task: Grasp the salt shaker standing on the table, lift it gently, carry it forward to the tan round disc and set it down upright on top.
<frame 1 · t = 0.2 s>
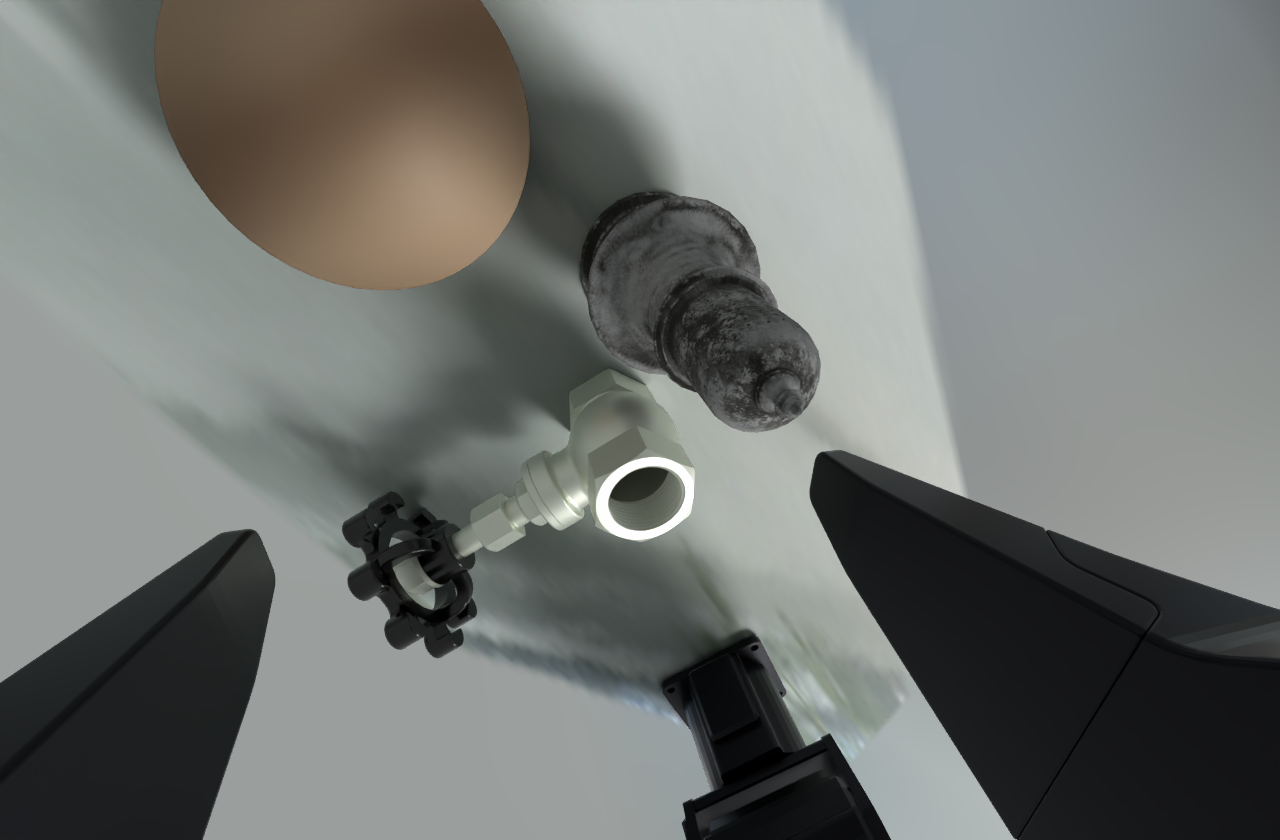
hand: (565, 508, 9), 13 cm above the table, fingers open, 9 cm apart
tan round disc: (374, 121, 17), on the table
valve: (529, 451, 25), on the table
salt shaker: (648, 264, 22), on the table
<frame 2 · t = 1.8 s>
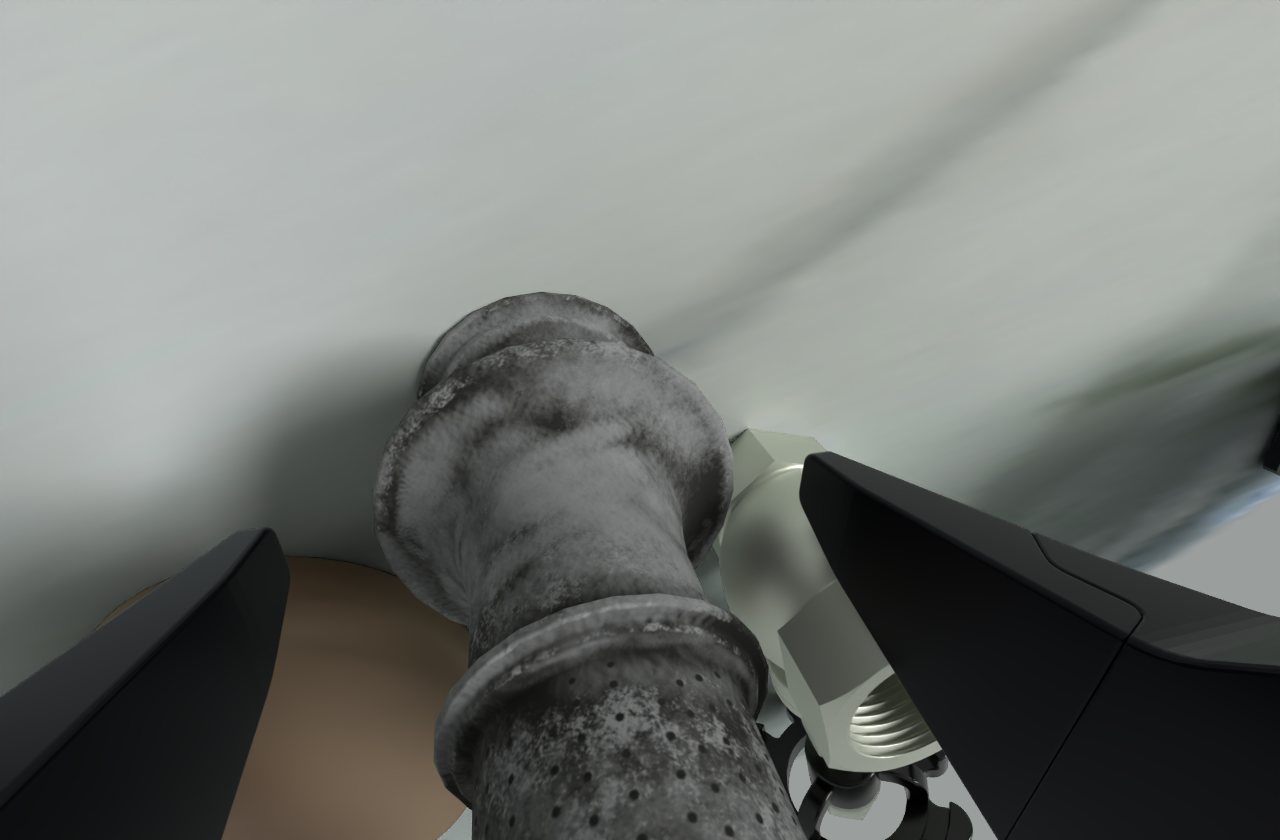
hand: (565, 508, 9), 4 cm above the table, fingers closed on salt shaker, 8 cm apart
tan round disc: (298, 693, 14), on the table
valve: (771, 578, 17), on the table, touching gripper
salt shaker: (545, 407, 13), on the table, touching gripper
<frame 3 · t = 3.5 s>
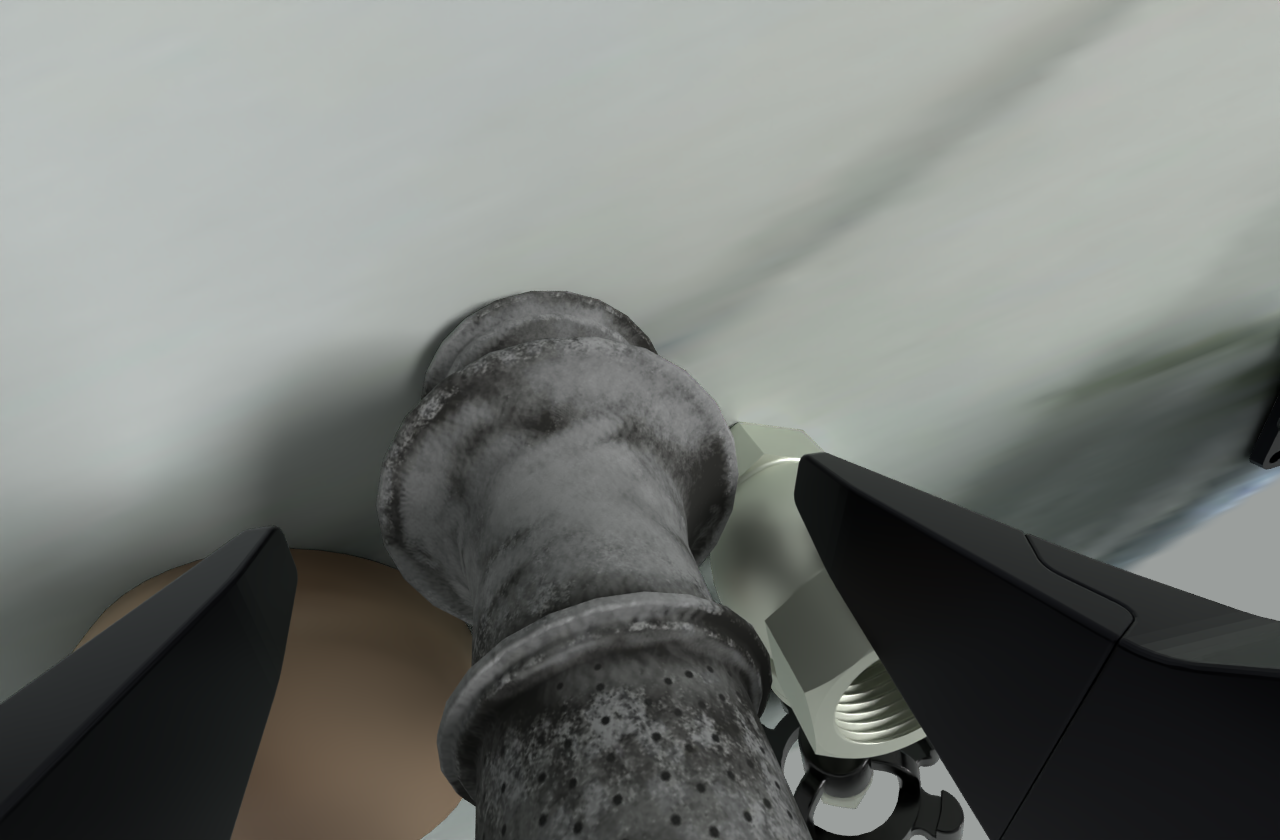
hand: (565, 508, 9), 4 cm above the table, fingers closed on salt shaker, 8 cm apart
tan round disc: (296, 685, 15), on the table
valve: (764, 571, 17), on the table
salt shaker: (549, 405, 13), on the table, touching gripper
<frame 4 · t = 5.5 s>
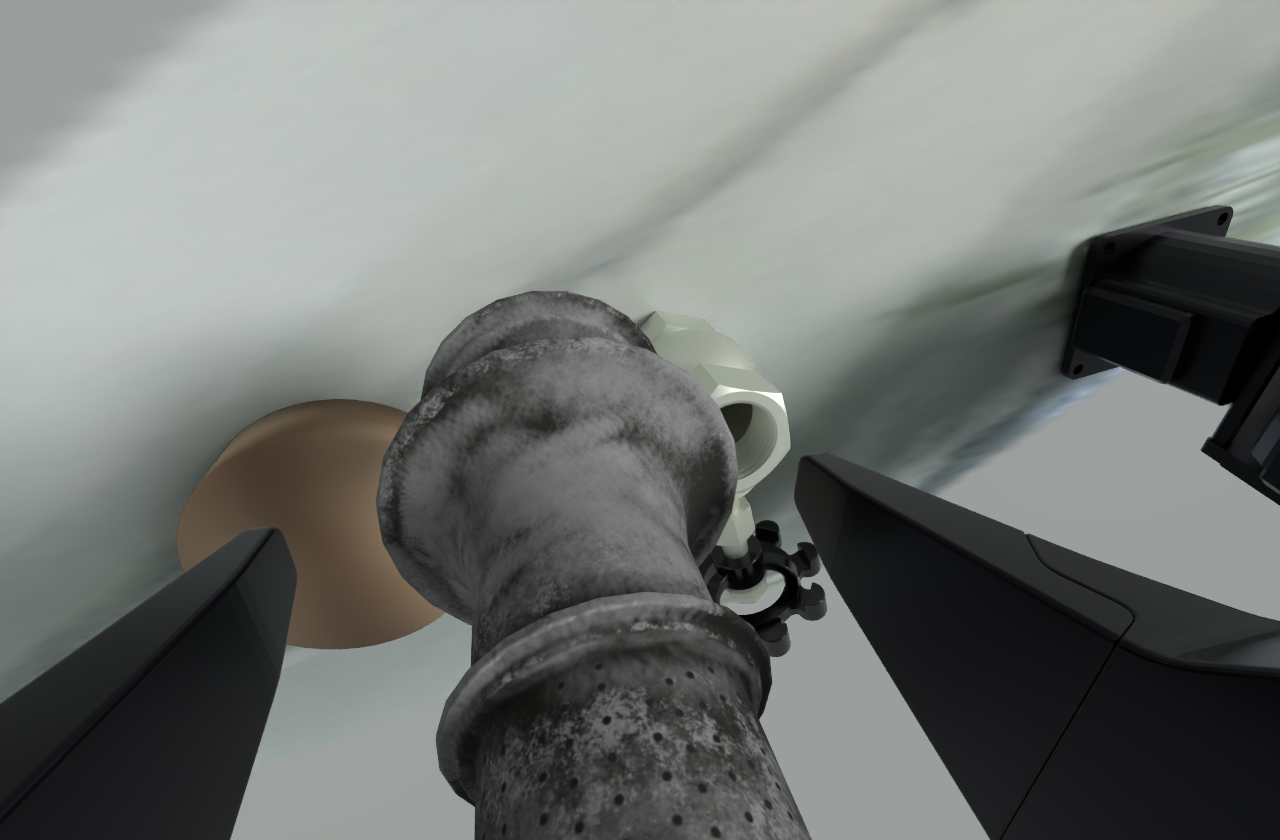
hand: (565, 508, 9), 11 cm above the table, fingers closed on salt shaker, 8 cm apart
tan round disc: (353, 508, 21), on the table
valve: (689, 435, 24), on the table
salt shaker: (549, 405, 13), point 8 cm above the table, touching gripper
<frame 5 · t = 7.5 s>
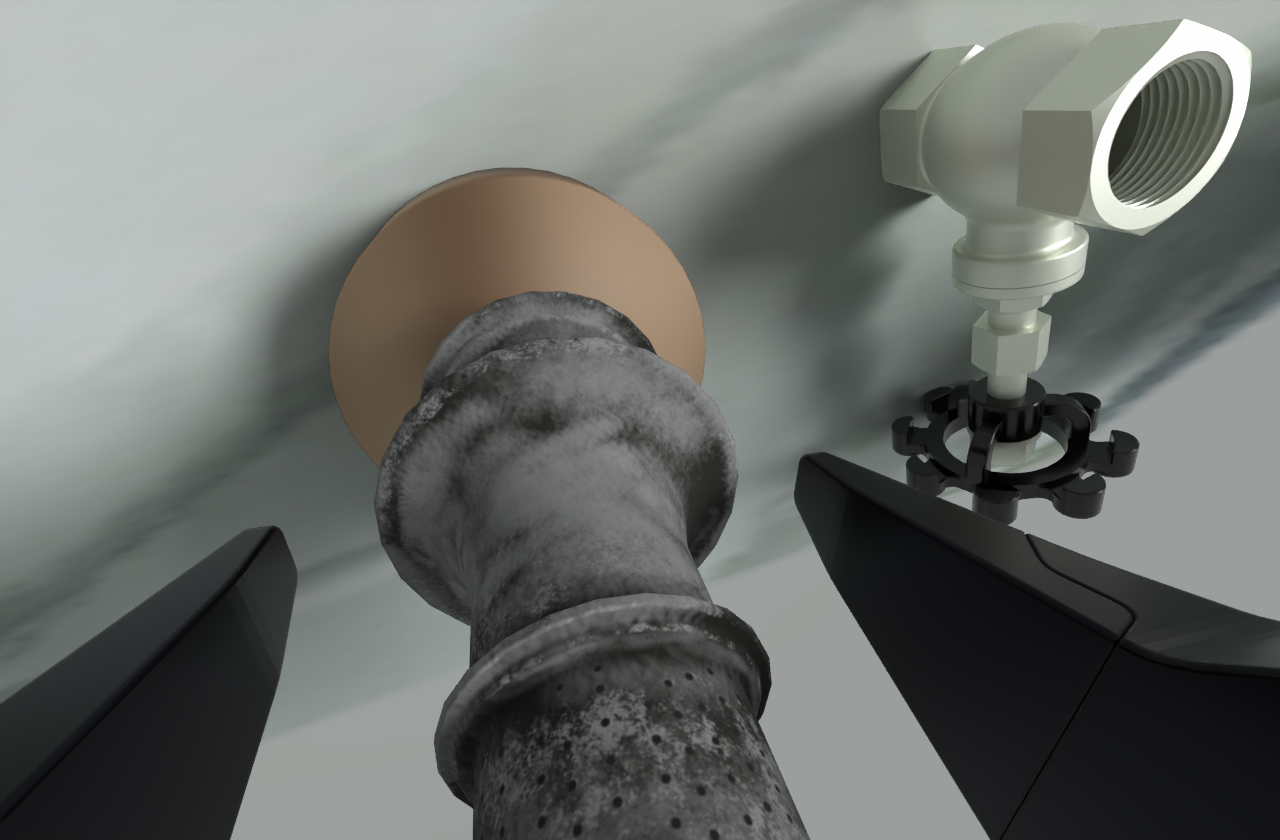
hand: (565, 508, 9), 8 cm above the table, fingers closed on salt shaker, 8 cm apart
tan round disc: (525, 340, 16), on the table
valve: (927, 256, 18), on the table
salt shaker: (548, 406, 13), point 4 cm above the table, touching gripper
when the fingers open (7 cm above the table, at t = 9.0 s): salt shaker drops 1 cm, resting on tan round disc.
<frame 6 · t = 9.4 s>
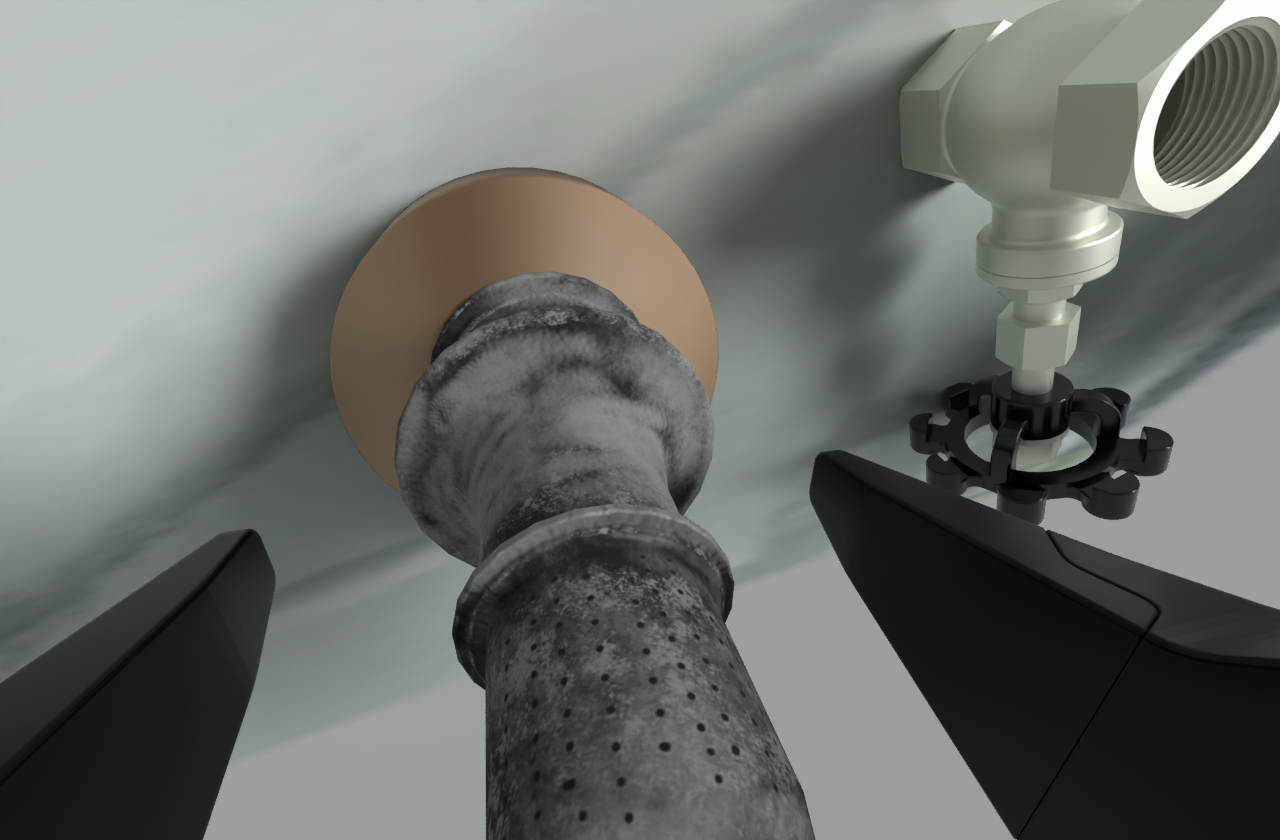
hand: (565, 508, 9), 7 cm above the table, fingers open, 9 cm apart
tan round disc: (532, 345, 16), on the table
valve: (947, 246, 18), on the table
salt shaker: (545, 378, 14), point 2 cm above the table, touching tan round disc
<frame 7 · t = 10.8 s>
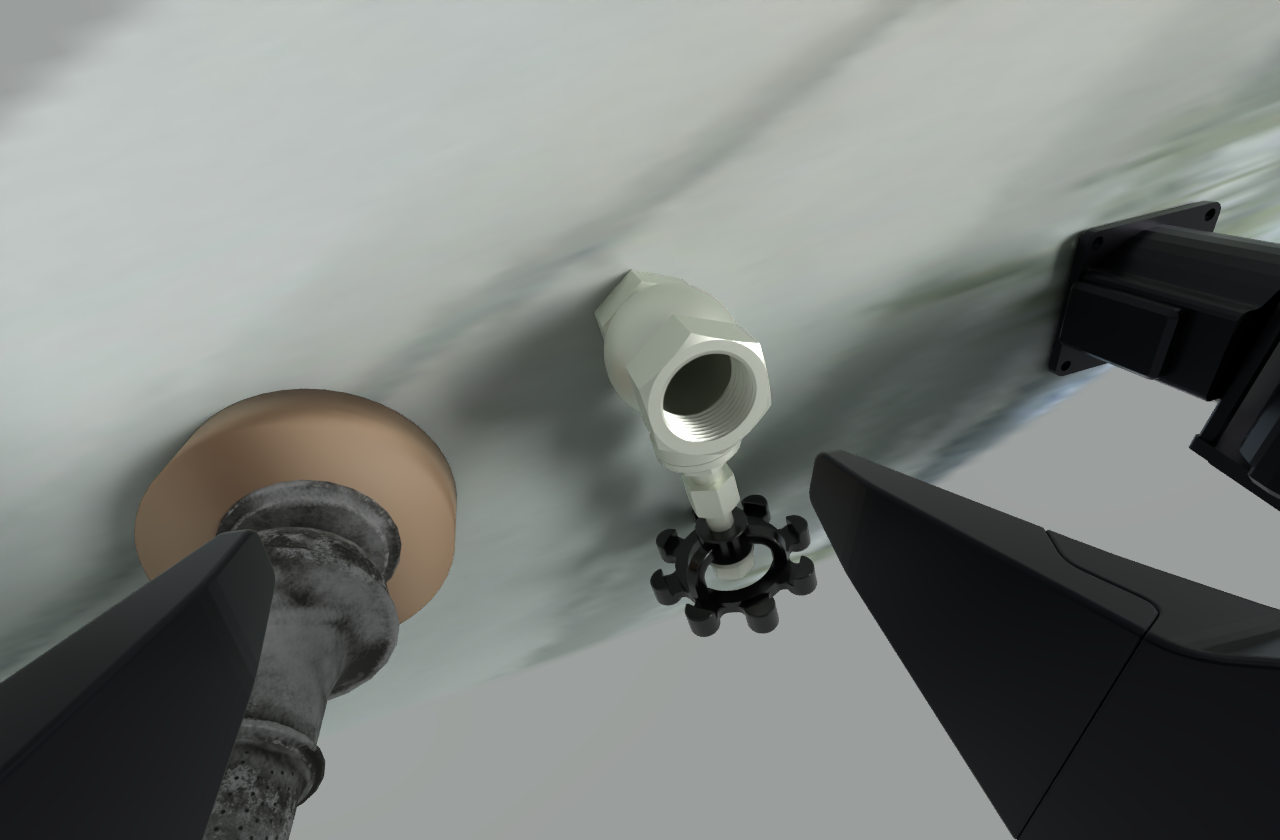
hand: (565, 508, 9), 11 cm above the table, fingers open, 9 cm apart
tan round disc: (325, 502, 20), on the table
valve: (670, 405, 23), on the table
salt shaker: (314, 544, 18), point 2 cm above the table, touching tan round disc
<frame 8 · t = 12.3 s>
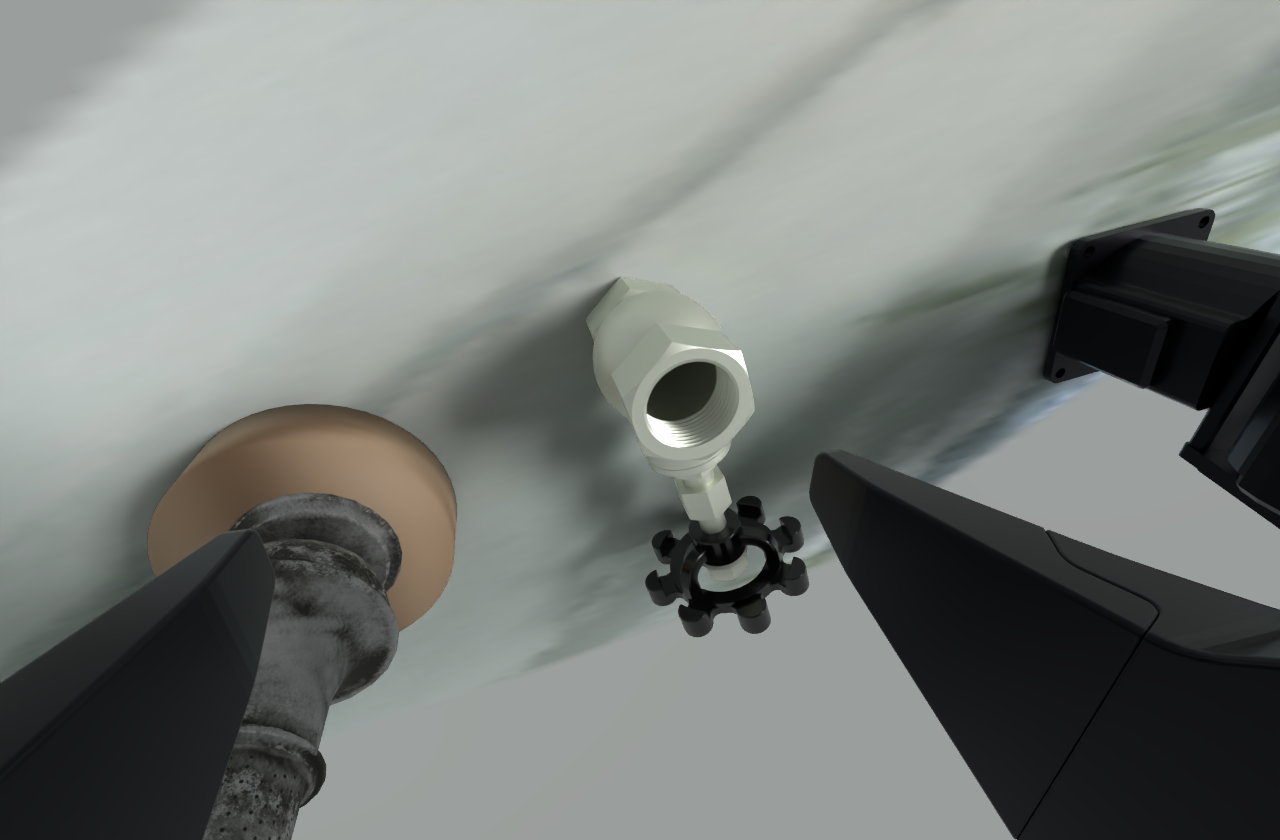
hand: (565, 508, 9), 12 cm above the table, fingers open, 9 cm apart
tan round disc: (329, 512, 21), on the table
valve: (664, 409, 23), on the table
salt shaker: (318, 553, 19), point 2 cm above the table, touching tan round disc
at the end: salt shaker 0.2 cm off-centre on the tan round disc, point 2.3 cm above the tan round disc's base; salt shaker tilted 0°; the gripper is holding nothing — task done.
